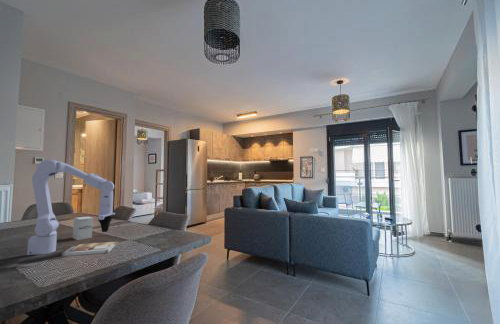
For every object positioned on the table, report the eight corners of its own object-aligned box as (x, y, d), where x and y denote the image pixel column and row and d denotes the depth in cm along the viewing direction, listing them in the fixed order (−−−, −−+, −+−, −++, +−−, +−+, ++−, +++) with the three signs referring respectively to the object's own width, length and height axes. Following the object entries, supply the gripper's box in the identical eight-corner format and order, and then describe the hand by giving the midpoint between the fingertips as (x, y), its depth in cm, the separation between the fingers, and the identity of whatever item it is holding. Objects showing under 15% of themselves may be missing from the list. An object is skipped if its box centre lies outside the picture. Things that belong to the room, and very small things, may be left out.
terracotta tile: (73, 254, 105) (73, 250, 105) (77, 251, 109) (78, 246, 109) (85, 253, 106) (85, 249, 106) (89, 250, 111) (90, 246, 111)
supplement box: (76, 242, 125) (78, 219, 126) (72, 240, 129) (73, 217, 130) (92, 239, 131) (93, 217, 132) (87, 237, 135) (88, 216, 136)
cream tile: (92, 253, 107) (93, 248, 107) (96, 249, 112) (96, 245, 112) (104, 252, 108) (105, 247, 108) (108, 249, 113) (108, 244, 113)
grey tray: (61, 258, 100) (61, 253, 100) (71, 251, 109) (72, 246, 109) (107, 255, 105) (108, 249, 105) (114, 248, 114) (114, 243, 114)
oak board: (72, 251, 109) (72, 249, 109) (80, 246, 118) (80, 243, 118) (114, 248, 115) (114, 246, 115) (118, 243, 123) (119, 241, 123)
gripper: (111, 206, 111) (109, 234, 110) (118, 202, 124) (117, 228, 123) (94, 206, 109) (92, 235, 108) (104, 203, 122) (102, 228, 121)
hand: (104, 231), depth 115 cm, fingers closed
